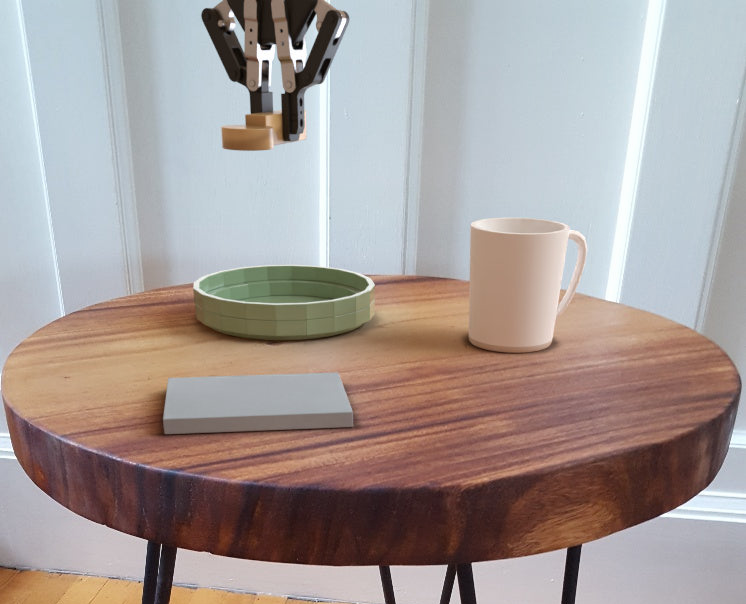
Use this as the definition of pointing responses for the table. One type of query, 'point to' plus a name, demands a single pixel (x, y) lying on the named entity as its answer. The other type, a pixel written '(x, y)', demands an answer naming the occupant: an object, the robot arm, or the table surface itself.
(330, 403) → the board
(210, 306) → the pan
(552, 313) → the mug
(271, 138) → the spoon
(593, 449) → the table surface
